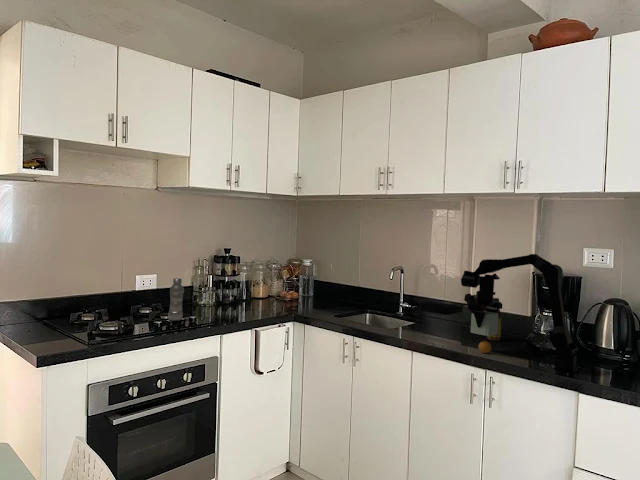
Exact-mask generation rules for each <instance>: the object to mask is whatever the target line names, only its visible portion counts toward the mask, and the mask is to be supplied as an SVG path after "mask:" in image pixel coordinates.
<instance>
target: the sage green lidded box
mask: <svg viewBox="0 0 640 480" xmlns="http://www.w3.org/2000/svg"><path fill="white" fill-rule="evenodd" d="M484 312H486V313H485V316H484V319H483V322H482V324H481V327H480V328H479V327H477V323H476V319H475V316H474V314H473V313H472V312H471V319H470V321H471V322H470V333H471V334H477V335H480V336H481V335H482V336H486V337H487V336H491V335H496V334H497V329H498V313H494V312H488V311H486V310H485V311H484Z"/></svg>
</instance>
